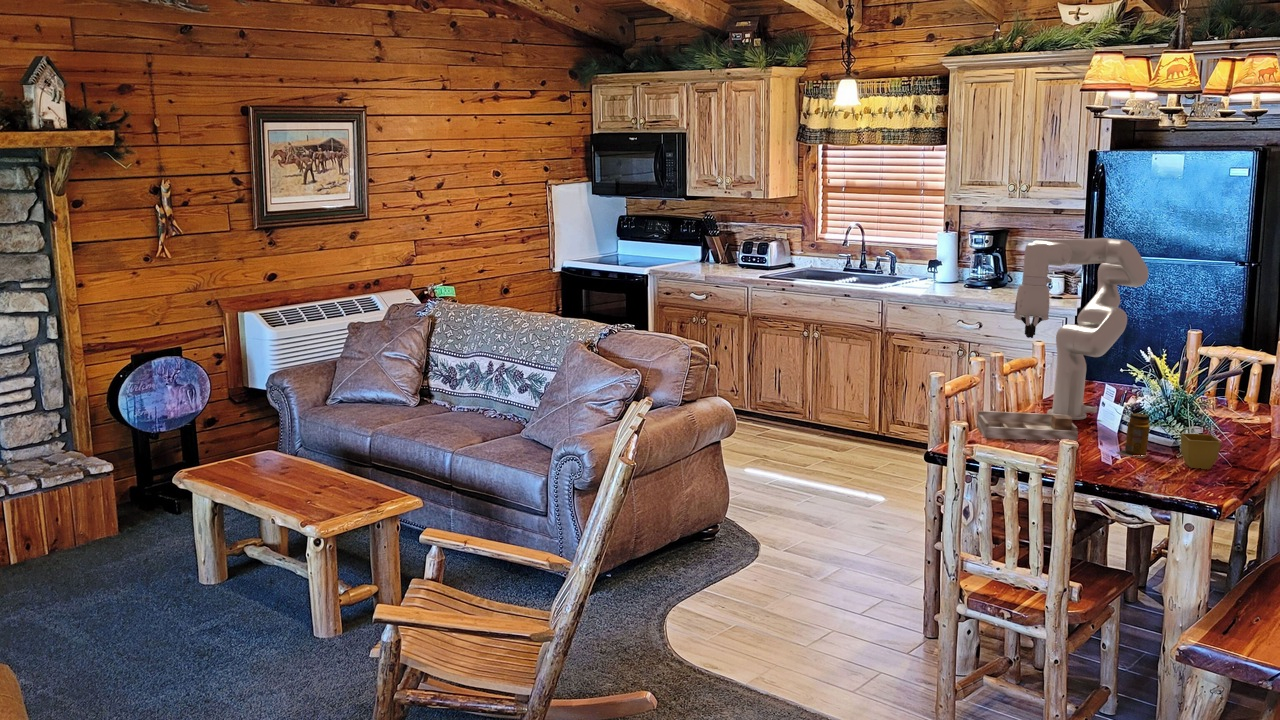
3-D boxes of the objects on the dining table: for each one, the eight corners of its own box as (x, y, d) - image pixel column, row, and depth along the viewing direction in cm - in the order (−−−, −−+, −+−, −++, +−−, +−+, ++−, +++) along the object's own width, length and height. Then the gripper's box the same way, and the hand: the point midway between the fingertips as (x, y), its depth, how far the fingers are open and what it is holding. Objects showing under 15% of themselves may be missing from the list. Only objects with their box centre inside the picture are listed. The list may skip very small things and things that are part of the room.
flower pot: (1176, 462, 331) (1180, 432, 330) (1208, 464, 330) (1212, 434, 328) (1185, 470, 323) (1189, 440, 321) (1218, 472, 321) (1222, 442, 320)
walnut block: (1067, 427, 359) (1068, 415, 358) (1070, 431, 354) (1072, 419, 353) (1050, 426, 359) (1052, 414, 359) (1054, 430, 355) (1055, 418, 354)
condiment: (1151, 453, 340) (1156, 415, 338) (1140, 458, 334) (1144, 419, 332) (1127, 448, 345) (1131, 410, 343) (1115, 453, 339) (1120, 414, 337)
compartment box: (1065, 431, 364) (1066, 414, 363) (1076, 442, 351) (1078, 425, 350) (976, 427, 367) (978, 410, 366) (985, 437, 354) (986, 421, 352)
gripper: (1055, 280, 367) (1050, 336, 371) (1008, 279, 369) (1003, 334, 372) (1061, 283, 360) (1055, 340, 363) (1013, 282, 361) (1008, 338, 365)
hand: (1029, 337), depth 368 cm, fingers closed
